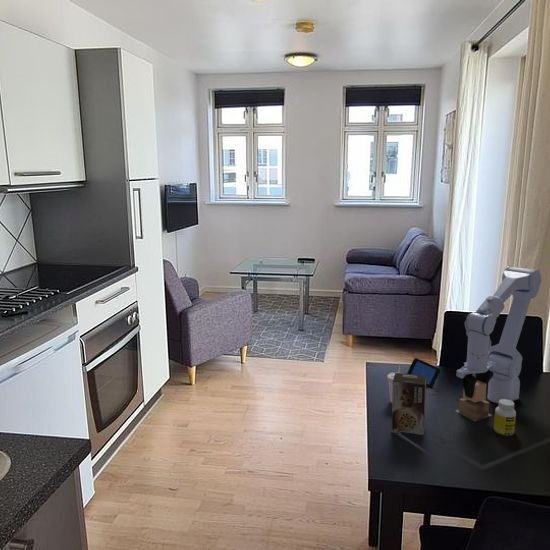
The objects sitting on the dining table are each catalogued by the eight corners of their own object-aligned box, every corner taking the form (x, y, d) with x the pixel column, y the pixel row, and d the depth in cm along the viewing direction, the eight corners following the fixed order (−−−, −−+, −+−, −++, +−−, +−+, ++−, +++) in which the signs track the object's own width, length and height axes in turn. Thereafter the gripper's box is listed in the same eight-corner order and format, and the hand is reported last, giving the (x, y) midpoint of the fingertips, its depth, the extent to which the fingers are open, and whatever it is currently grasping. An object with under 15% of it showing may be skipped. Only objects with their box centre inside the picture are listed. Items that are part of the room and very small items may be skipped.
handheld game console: (391, 382, 177) (392, 362, 176) (414, 376, 182) (415, 357, 181) (416, 396, 167) (417, 375, 165) (440, 388, 172) (441, 368, 170)
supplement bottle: (505, 440, 138) (508, 408, 136) (489, 432, 143) (491, 400, 141) (518, 435, 140) (521, 403, 138) (501, 427, 145) (504, 396, 143)
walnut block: (472, 406, 156) (473, 394, 155) (488, 414, 151) (489, 402, 150) (458, 411, 153) (459, 399, 152) (474, 419, 148) (475, 407, 147)
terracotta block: (473, 393, 154) (474, 378, 153) (485, 399, 150) (486, 383, 149) (462, 397, 152) (463, 381, 151) (475, 402, 148) (476, 386, 147)
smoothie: (407, 409, 157) (408, 367, 154) (386, 408, 158) (387, 366, 155) (406, 400, 163) (407, 360, 160) (386, 399, 164) (387, 359, 161)
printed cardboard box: (424, 426, 146) (427, 375, 143) (423, 437, 140) (426, 384, 137) (393, 422, 149) (394, 371, 146) (390, 432, 143) (392, 380, 140)
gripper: (483, 344, 155) (480, 385, 157) (449, 352, 148) (447, 395, 151) (502, 351, 149) (499, 393, 151) (468, 360, 142) (465, 404, 145)
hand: (474, 395), depth 151 cm, fingers closed on terracotta block, 4 cm apart
